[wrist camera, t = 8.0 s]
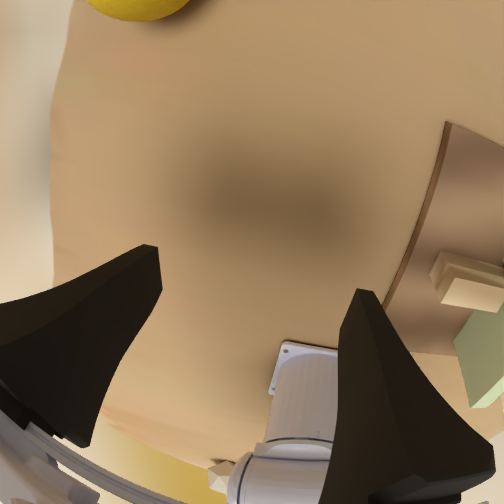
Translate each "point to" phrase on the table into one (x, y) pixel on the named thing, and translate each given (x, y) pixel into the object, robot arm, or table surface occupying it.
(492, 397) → the slotted plate
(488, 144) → the base
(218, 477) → the die
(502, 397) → the cup
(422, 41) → the table surface
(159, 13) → the lemon
